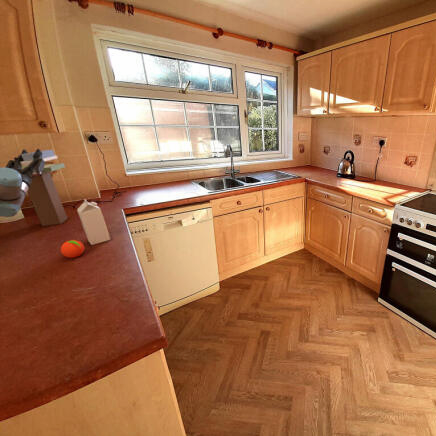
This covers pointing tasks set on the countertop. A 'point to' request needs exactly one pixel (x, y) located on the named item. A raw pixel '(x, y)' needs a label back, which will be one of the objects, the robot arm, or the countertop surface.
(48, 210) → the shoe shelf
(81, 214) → the milk carton
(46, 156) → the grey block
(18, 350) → the countertop surface
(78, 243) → the clementine
